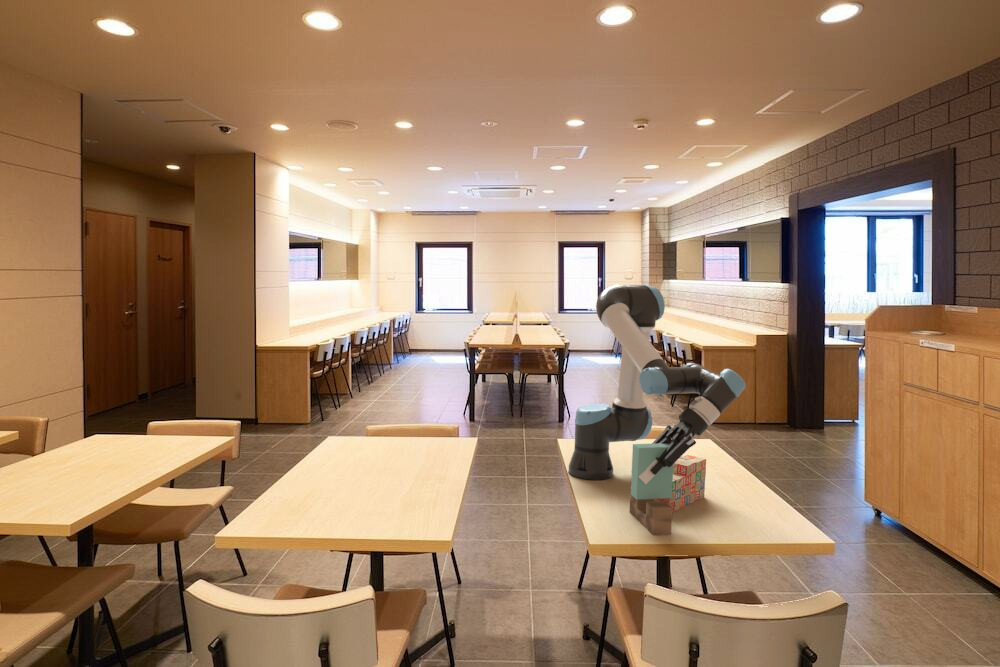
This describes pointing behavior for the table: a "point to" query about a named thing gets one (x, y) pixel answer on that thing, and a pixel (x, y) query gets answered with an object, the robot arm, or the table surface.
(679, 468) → the stack of blocks
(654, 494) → the rectangular block
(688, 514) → the table surface
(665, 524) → the staggered wooden block
